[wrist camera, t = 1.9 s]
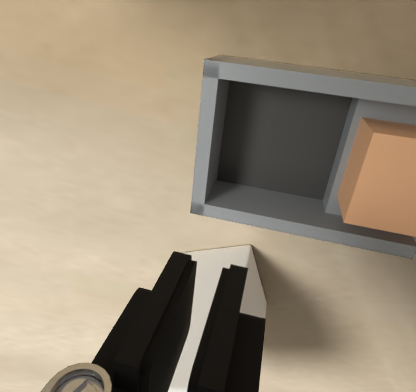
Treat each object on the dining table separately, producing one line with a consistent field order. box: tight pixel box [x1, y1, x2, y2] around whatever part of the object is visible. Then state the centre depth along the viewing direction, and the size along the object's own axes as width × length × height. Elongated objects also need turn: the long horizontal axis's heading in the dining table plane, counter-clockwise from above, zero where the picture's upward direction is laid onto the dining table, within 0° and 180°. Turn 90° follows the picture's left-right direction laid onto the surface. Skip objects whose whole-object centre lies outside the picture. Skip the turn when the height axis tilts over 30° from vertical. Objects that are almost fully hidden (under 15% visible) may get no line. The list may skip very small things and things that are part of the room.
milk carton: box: [168, 245, 267, 392], centre depth 26 cm, size 7×7×19 cm
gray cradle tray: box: [190, 55, 416, 259], centre depth 24 cm, size 11×27×5 cm, turn 84°
